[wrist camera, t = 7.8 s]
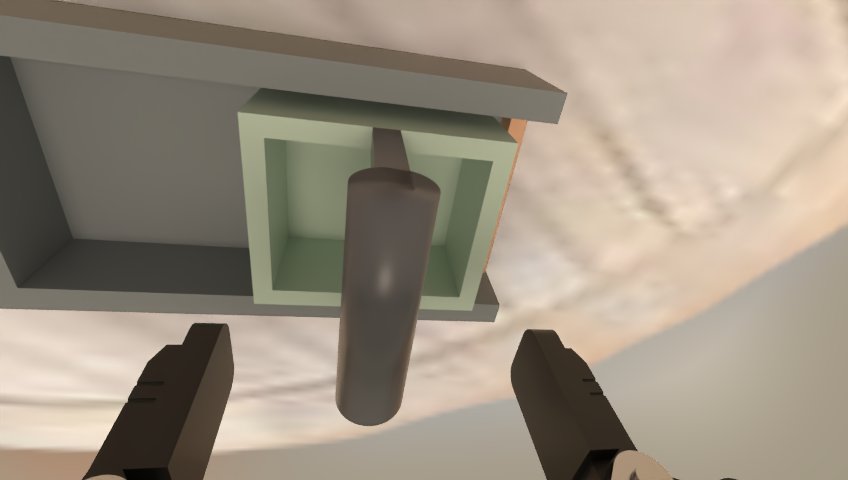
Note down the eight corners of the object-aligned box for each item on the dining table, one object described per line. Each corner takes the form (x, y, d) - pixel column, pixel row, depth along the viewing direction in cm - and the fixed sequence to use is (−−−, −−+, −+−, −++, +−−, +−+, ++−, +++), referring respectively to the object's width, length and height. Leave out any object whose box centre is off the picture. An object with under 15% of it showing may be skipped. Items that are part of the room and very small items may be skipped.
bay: (-28, -12, 16) (-169, -9, 12) (525, 69, 20) (567, 93, 16) (65, 246, 22) (-5, 308, 18) (473, 267, 26) (494, 321, 22)
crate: (267, 81, 18) (163, 189, 9) (485, 108, 20) (592, 222, 10) (274, 242, 22) (211, 428, 13) (453, 252, 24) (508, 423, 15)
